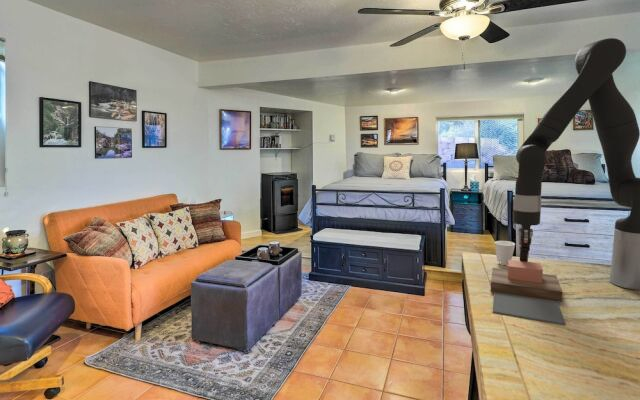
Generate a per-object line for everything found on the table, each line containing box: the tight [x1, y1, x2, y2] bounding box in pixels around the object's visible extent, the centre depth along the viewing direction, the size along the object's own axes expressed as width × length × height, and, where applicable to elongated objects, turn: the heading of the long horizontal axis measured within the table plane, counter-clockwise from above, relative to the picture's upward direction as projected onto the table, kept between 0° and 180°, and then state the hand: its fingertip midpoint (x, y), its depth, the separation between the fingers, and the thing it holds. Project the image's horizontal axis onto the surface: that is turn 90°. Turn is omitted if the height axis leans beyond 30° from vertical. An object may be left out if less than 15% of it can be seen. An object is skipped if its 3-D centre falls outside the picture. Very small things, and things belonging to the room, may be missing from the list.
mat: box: [492, 292, 566, 326], centre depth 96 cm, size 14×16×1 cm
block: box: [507, 259, 544, 283], centre depth 110 cm, size 7×9×4 cm
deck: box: [490, 267, 563, 303], centre depth 109 cm, size 14×18×3 cm
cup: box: [494, 240, 516, 267], centre depth 132 cm, size 7×10×8 cm
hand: (523, 261), depth 113 cm, fingers closed
